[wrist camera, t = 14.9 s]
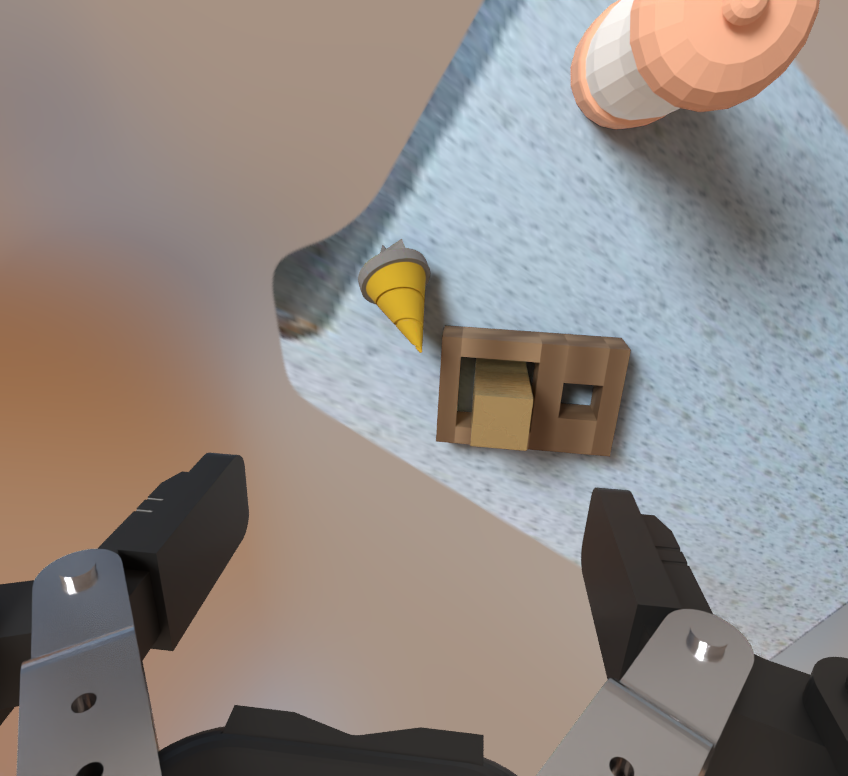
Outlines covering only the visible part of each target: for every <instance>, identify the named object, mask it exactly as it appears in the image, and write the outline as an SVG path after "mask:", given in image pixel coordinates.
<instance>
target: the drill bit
mask: <svg viewBox="0 0 848 776" xmlns="http://www.w3.org/2000/svg"><path fill="white" fill-rule="evenodd" d="M429 279H430V269H429V267H428V264H427V261H426V259H425V257H424V256H423V255H422V254H421V253H420V252H418V251H416V250H413V249H409V248H405V246H404V244H403V241H402V239H401V240H399V241H398V242H396V243H395V244H393V245H392V246H390V247H389V248H387V249H386V248H385V247H384V246H383V245H382V249H381V252H380V254H378V255H376V256H374V257H373V258H372V259H370V260H369V261H368V262H367V263H366V264H365V265H364V266H363V267H362V269H361V271H360V273H359V276H358V282H359V286H360V289H361V292H362V295H363V297H364V298H365V299H366V300H367V301H369V302H371V303H374V304H376V305H377V306H378V307H379V308H380V309H381V310H382V311H383V312H384V313H385V315H386V316H387V317H388V318H389V319H390V320H391V321H392V322H393V323H394V324H395V325H396V327H397V328H398V329H399V330H400V331H401V332H402V333H403V334H404V336H405V337H406V338H407V339H408V340H409V341H410V342H411V343H412V344H413V345H416V349H417V350H418V351H419V352H420V353H421V352H422V341H423V321H424V301H425V286H426V285H427V283H428V282H429Z"/></svg>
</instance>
